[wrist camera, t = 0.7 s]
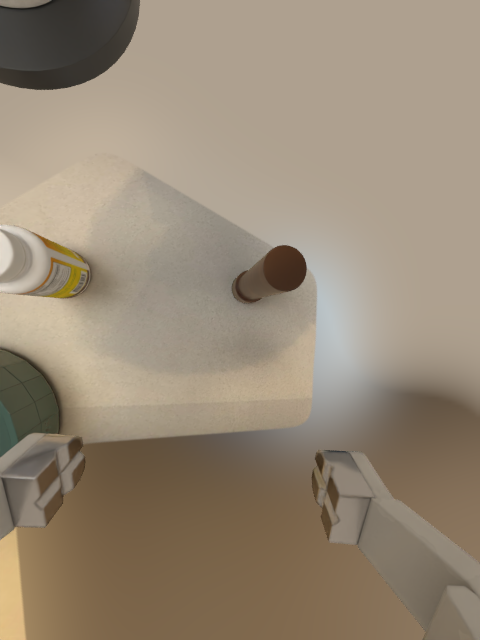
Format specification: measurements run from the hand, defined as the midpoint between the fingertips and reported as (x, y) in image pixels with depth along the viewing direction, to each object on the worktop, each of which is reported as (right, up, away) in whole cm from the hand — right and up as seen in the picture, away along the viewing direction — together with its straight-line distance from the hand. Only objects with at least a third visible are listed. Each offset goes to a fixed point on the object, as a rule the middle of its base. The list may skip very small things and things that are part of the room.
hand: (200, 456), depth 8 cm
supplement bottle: (-19, +10, +18) cm, 28 cm away
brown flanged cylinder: (+2, +9, +22) cm, 23 cm away
